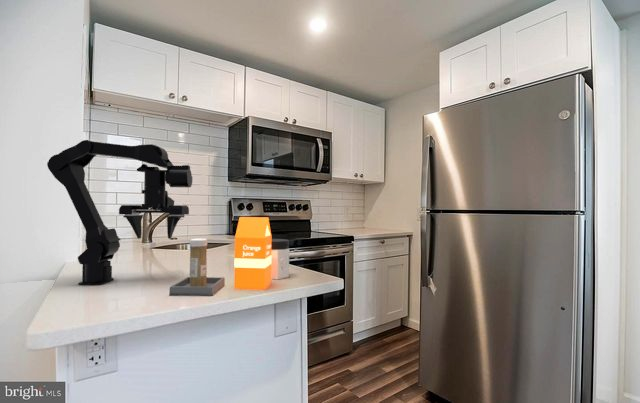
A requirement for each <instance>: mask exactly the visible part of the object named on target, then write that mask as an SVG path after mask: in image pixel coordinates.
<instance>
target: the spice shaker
mask: <svg viewBox="0 0 640 403" xmlns="http://www.w3.org/2000/svg"><path fill="white" fill-rule="evenodd" d="M189 248H190V251H189V252H190V253H189V277H190V286H191V287H207V284H206V277H207V274H208V270H207V269H208V268H207V267H208V265H207V264H208V258H207V256H208V255H207V252H208V251H207V249H208V239H207V238H205V237H204V238H203V237H201V238H200V237H199V238H191V239H190V240H189Z"/></svg>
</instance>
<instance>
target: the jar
mask: <svg viewBox="0 0 640 403" xmlns="http://www.w3.org/2000/svg"><path fill="white" fill-rule="evenodd" d="M289 242H290V240H289V239H284V238H272V240H271V280H283V279H288V278H289V276H290V248H289V246H290V243H289Z"/></svg>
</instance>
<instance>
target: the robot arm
mask: <svg viewBox="0 0 640 403" xmlns="http://www.w3.org/2000/svg"><path fill="white" fill-rule="evenodd" d="M97 156H103V157H112V158H113V157H114V158H118V159H119V158H120V159H121V158H122V159H128V160H136V161H139V162H142V165H141V166H139V167H138V168H137V169H136V171H137V172H139V173H144V175H143V176H144V181H143V182H144V183H143V184H144V188H143V189H142V190H141V194H144V196H143V198H144V199H143V200H144V201H143V203H141V204H122V205H120V207H119V209H118V215H123V218H125V219H126V221H127V222H128V224H130V226H131V227H132V230H133V232H134V234H135V236H136V237H137V239H141V238H142V221H143V220H142V219H143V217H144V214H149V213H150V214H169V215H167V216H166V224H167V225H166V226H167V228H166V229H167V231H166V232H167V238H168V239H170V240H171V239H172V237H173V234H174V232H175V229H176V227H177V224H178V223H179V221H180V220H181V219H182V218H185V215H189V214H190V209H189V206H188V205H177V204H175V200H174V199H172V198H171V197H170V196H169V194H168V193H169V192H168V190H166V184H167V185H169V187H170V188H191V187H192V185H193V175H192V171H191V166H190V165H189V164H188V165H187V164H183V165H174V164H173V162H171V160H170V159H169V154H168V152H167V151H166V149H164V148H163V147H160V146H158V145H156V144H153V143H151V144H139V145H124V144H117V143H108V142H101V141H92V140H89V139H84V140H82V141H79V142H78V143H77V144H76V145H74V146H70V147H68V148H66V149H64V150H62V151H61V152H59V153H58V154H54V155H52V156H51V157H49V160H48V161H47V163H46V165H47V168H48V170H49V172H50V173H51V174H52V176H53V177H54V179H56V180H57V181H58V182H59V183H60V184H62V186H64V188H65V190H66V191H67V194H68V196H69V199H70V200H71V202H72V205H73V207H74V209H75V210H76V213H77V216H78V218H79V219H80V221H81V224H82V225H83V228H84V230H85V239H84V240H85V241H84V242H85V245H86V249H85V250H84V251H83V252H81V254H80V255H79V256H77V261H78V263H79V264H80V265H82V269H81V270H82V272H81V273H82V275H81V277H82V279H81V281H79V282H78V283H77V285H82V286H83V285H84V286H85V285H89V286H90V285H91V286H92V285H95V286H97V285H99V286H100V285H103V284H106V283H108V282H111V281H114V279H115V278H114V277H113V275H112V274H113V266H112V264H111V260H112V259H113V258H114V255H115V254H116V253H117V252H118V251H119V249H120V246H121V243H120V241H121V238H120V237H119V236H118V232H117V230H116V229H115V228H108V227H107V226H106V225H105V224H104V221H103V219H102V217H101V215H100V213H99V211H98V208H97V207H96V205H95V202H94V201H93V198H92V196H91V194H90V192H89V189H88V188H87V187H88V186H86V183H85V178H86V172H85V169H84V168H85V167H87V166H88V165H90V163H91V162H92V160H93V159H94V158H95V157H97ZM145 163H147V164H145ZM148 164H149V165H154V166H148ZM159 167H160V168H162V169H160V168H159ZM163 168H164V169H163ZM143 213H144V214H143Z"/></svg>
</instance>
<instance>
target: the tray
mask: <svg viewBox="0 0 640 403" xmlns="http://www.w3.org/2000/svg"><path fill="white" fill-rule="evenodd" d="M225 280H226V279H225V277H221V276H220V277H218V276H217V277H209V276H208V277H207V276H206V284H207V287H191V286H190V276H187V277H185V278H183V279H181V280H179V281H178V282H176V283H174V284H172V285H171V286H169V296H177V297H178V296H185V297H186V296H187V297H188V296H190V297H193V296H199V297H202V296H203V297H211V296H214V295H215V294H216V293H217V292H218V291H220V290H221V288H223V287H224V286H225V282H226V281H225Z"/></svg>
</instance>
